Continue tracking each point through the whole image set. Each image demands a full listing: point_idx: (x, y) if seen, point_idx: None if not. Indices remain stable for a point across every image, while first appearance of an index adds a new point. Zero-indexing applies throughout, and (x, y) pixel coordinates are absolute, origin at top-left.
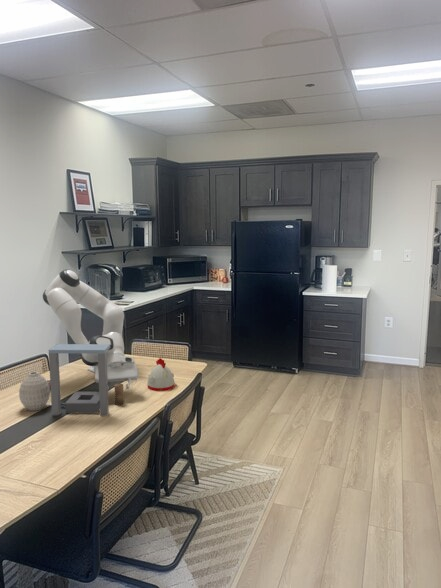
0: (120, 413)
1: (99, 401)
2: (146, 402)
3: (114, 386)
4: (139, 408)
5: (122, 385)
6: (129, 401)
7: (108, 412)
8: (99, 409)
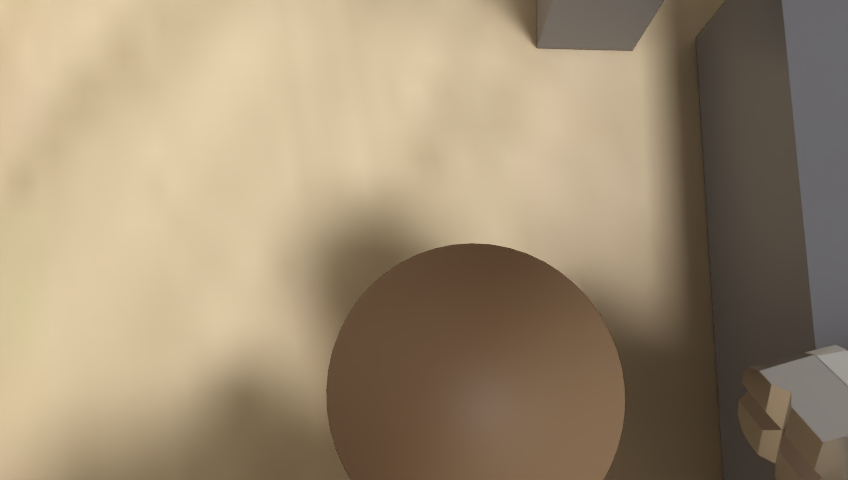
0: (368, 22)
1: (770, 114)
2: (9, 411)
3: (600, 330)
4: (116, 178)
5: (341, 350)
6: (296, 466)
7: (538, 30)
8: (703, 150)
